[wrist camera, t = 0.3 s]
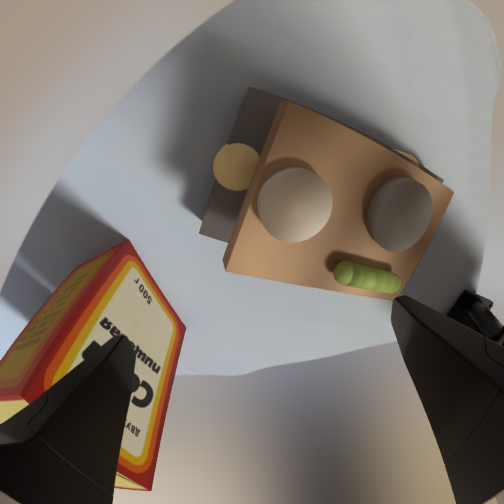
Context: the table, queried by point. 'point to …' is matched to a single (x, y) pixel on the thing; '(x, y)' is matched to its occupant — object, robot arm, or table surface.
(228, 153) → the instrument base
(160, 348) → the baking soda box
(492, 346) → the robot arm
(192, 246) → the table surface
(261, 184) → the level plate
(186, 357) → the table surface
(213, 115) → the table surface
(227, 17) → the table surface
